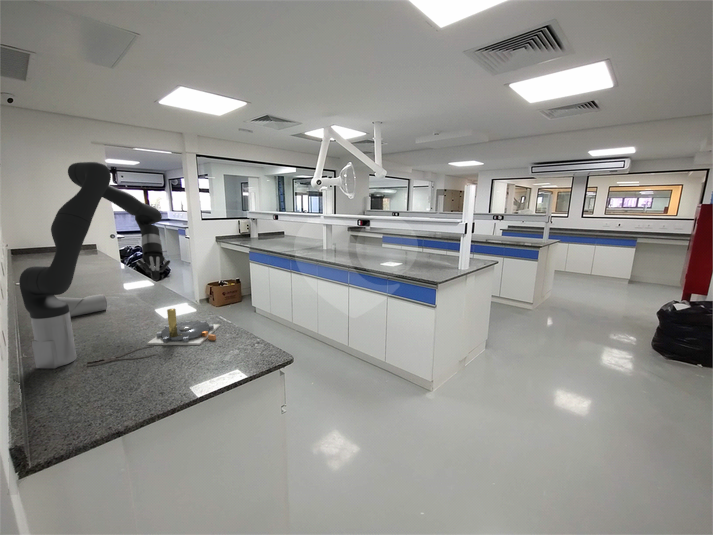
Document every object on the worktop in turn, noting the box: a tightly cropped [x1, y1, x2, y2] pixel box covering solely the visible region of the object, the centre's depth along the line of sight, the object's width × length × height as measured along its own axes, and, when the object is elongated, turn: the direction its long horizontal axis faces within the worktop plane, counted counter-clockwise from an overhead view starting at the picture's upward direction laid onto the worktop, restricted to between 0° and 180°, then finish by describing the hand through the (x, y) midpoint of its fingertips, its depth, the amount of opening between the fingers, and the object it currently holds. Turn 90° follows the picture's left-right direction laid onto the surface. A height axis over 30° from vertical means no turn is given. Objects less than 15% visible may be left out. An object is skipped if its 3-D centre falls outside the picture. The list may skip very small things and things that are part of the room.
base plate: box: [147, 323, 221, 346], centre depth 129 cm, size 20×24×2 cm
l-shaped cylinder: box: [55, 293, 108, 318], centre depth 150 cm, size 18×11×20 cm
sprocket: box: [156, 308, 214, 342], centre depth 128 cm, size 21×21×12 cm
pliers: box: [86, 345, 157, 368], centre depth 108 cm, size 10×1×20 cm
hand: (156, 279), depth 131 cm, fingers closed
